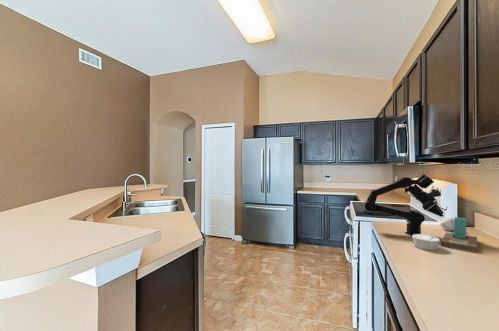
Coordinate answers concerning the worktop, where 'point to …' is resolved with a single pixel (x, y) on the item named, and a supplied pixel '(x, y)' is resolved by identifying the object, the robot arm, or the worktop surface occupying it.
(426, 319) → the worktop surface
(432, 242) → the ramekin
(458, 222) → the teal block
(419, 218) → the robot arm
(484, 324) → the worktop surface
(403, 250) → the worktop surface
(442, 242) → the puzzle board
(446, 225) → the die
